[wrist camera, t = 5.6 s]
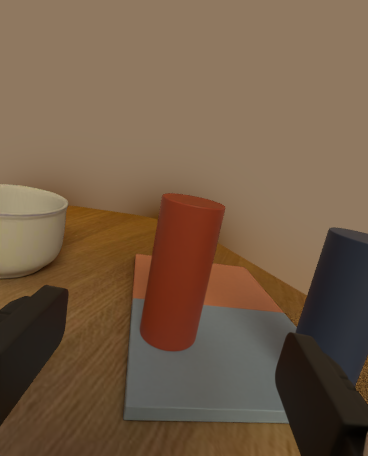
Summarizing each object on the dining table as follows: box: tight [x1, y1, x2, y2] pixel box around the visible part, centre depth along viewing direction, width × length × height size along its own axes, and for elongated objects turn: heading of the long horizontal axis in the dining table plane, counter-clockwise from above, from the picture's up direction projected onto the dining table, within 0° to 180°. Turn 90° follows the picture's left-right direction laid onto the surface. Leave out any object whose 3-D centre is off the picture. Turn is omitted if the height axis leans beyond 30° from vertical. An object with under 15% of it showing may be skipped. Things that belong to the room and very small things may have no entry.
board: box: [123, 254, 297, 423], centre depth 29 cm, size 16×24×1 cm, turn 8°
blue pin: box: [295, 228, 368, 386], centre depth 20 cm, size 5×5×11 cm
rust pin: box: [140, 193, 225, 351], centre depth 22 cm, size 5×5×11 cm
